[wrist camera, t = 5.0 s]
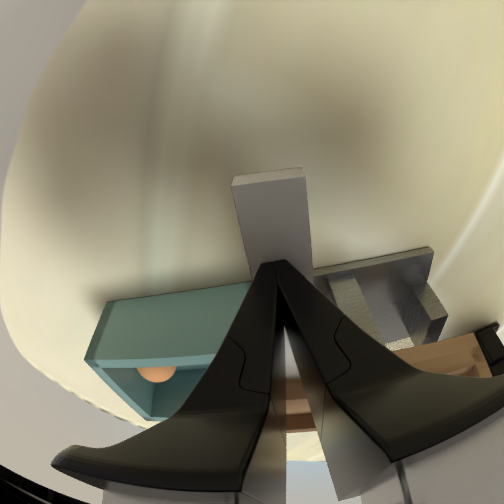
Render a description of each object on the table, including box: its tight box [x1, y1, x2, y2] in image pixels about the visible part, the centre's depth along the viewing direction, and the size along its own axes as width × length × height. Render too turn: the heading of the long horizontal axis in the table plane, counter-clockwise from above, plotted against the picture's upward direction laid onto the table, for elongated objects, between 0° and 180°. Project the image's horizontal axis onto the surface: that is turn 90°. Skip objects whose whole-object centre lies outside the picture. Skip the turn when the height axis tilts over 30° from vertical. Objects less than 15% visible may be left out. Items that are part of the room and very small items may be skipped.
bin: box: [84, 281, 252, 421], centre depth 18 cm, size 9×11×5 cm
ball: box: [137, 366, 177, 382], centre depth 18 cm, size 3×3×3 cm
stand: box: [313, 247, 448, 347], centre depth 16 cm, size 9×11×7 cm
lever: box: [231, 167, 492, 433], centre depth 11 cm, size 16×14×3 cm
